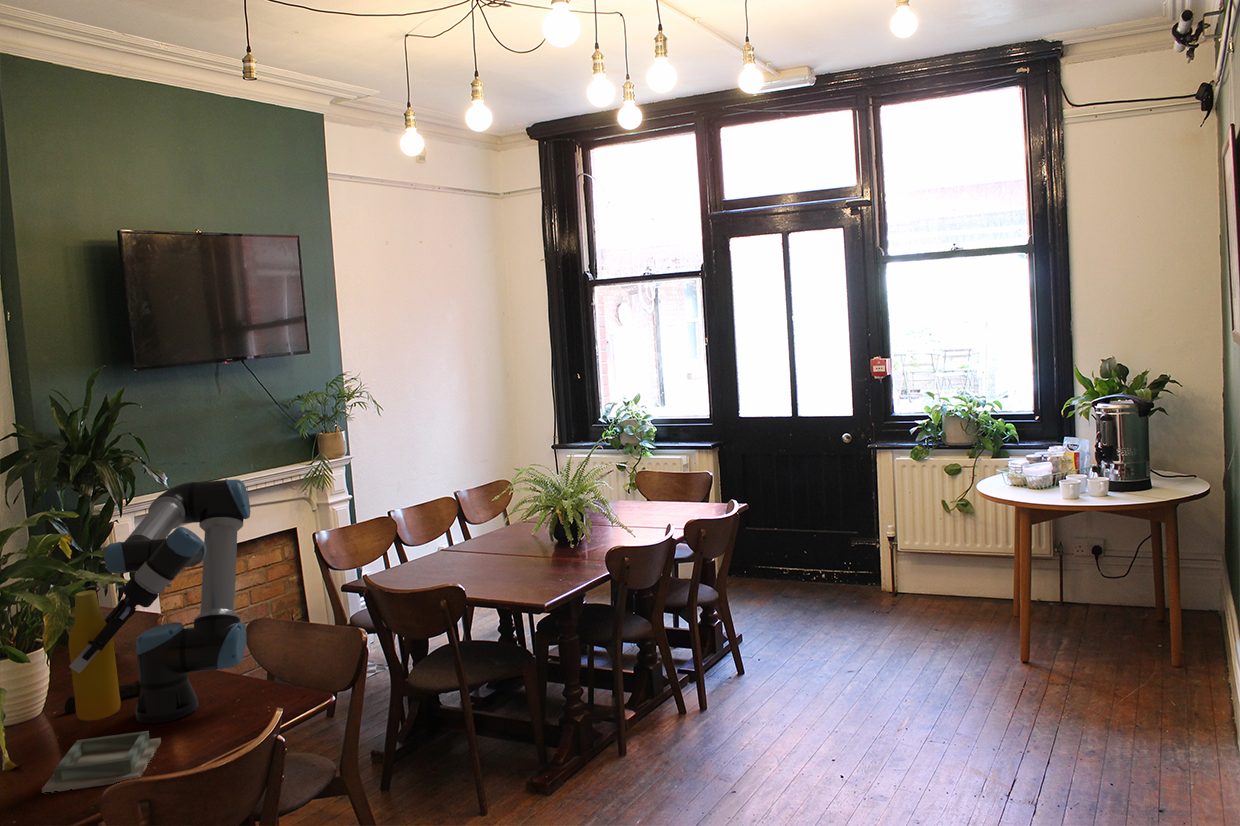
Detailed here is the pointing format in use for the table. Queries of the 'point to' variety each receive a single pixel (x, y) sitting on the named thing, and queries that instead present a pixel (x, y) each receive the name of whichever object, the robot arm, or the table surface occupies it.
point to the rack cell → (103, 761)
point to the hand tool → (123, 691)
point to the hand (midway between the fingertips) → (77, 662)
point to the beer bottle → (93, 662)
